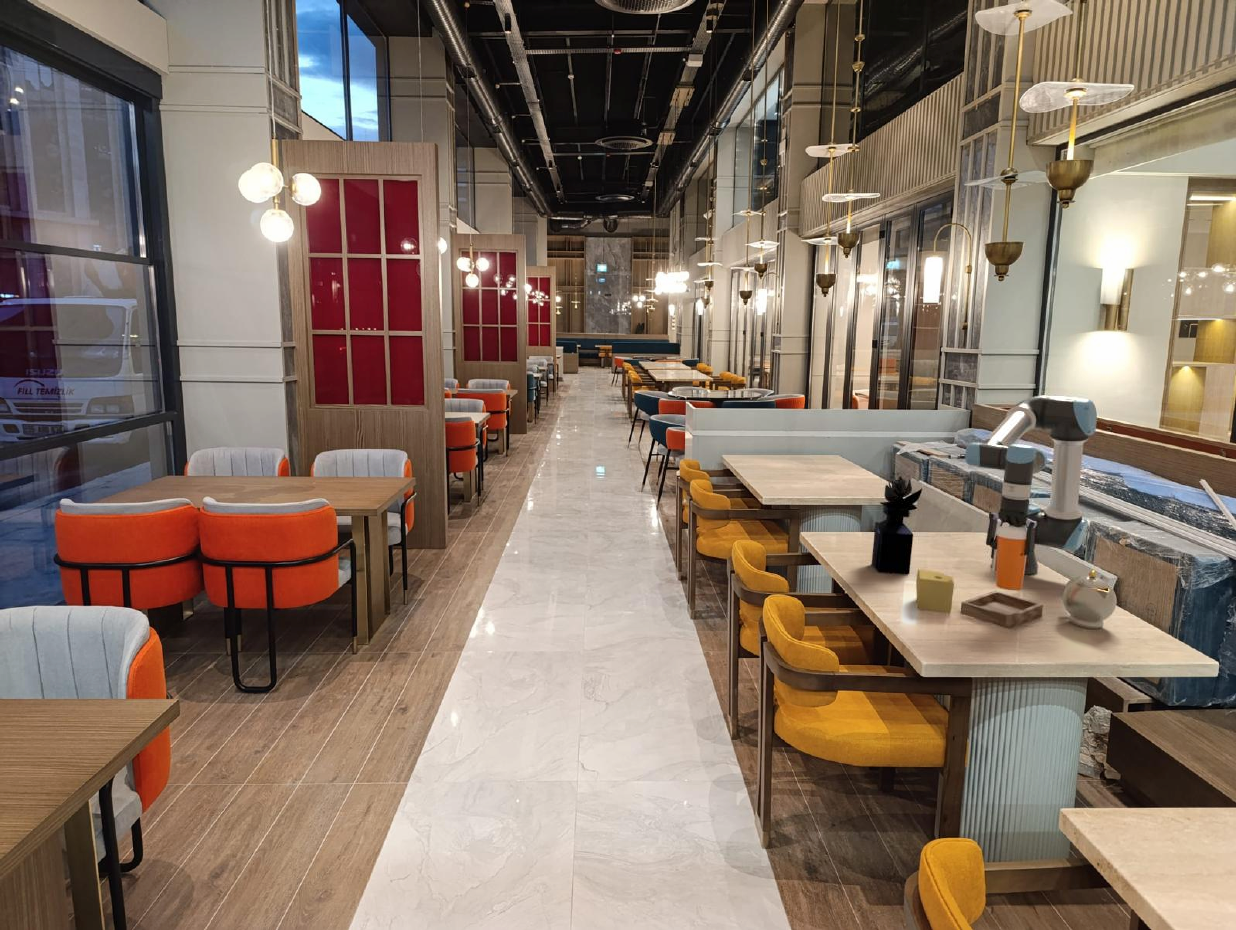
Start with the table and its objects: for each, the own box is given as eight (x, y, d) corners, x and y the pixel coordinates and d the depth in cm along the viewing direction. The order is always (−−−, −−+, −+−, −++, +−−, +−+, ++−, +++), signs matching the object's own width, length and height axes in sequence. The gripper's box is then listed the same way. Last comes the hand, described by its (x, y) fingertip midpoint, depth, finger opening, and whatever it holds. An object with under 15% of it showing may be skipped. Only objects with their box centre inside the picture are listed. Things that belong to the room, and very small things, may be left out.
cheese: (949, 603, 250) (952, 572, 249) (951, 614, 240) (955, 582, 239) (914, 598, 254) (917, 568, 252) (915, 609, 244) (918, 577, 242)
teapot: (1125, 634, 229) (1133, 579, 226) (1080, 633, 228) (1087, 578, 225) (1084, 611, 246) (1091, 560, 244) (1042, 611, 245) (1049, 560, 243)
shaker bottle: (1029, 592, 233) (1035, 525, 230) (997, 590, 235) (1002, 524, 232) (1020, 583, 242) (1025, 519, 239) (989, 581, 244) (994, 517, 241)
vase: (909, 565, 290) (918, 470, 284) (917, 575, 278) (928, 476, 272) (868, 563, 291) (877, 468, 285) (876, 572, 280) (885, 474, 273)
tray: (993, 601, 253) (994, 590, 252) (1041, 615, 241) (1043, 604, 241) (960, 613, 241) (961, 602, 240) (1009, 629, 229) (1010, 617, 229)
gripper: (978, 492, 240) (969, 566, 244) (1042, 504, 225) (1031, 583, 229) (990, 490, 244) (982, 562, 248) (1054, 501, 230) (1044, 579, 234)
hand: (1006, 572), depth 239 cm, fingers open, 6 cm apart
